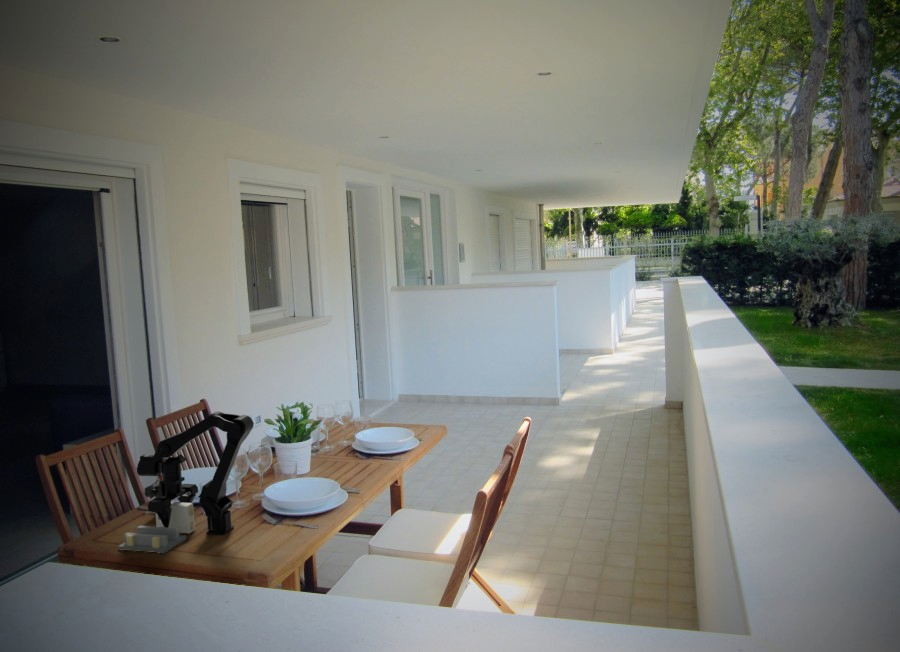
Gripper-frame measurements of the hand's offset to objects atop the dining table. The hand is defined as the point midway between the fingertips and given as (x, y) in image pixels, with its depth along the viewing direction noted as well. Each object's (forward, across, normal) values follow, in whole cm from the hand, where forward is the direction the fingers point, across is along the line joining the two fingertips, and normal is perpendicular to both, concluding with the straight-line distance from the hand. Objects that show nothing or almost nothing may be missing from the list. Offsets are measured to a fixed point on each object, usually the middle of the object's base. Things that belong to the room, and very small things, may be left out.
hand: (175, 522), depth 226 cm
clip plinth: (+2, +12, 0) cm, 12 cm away
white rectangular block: (+3, 0, 0) cm, 3 cm away
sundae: (+3, -14, -15) cm, 21 cm away
